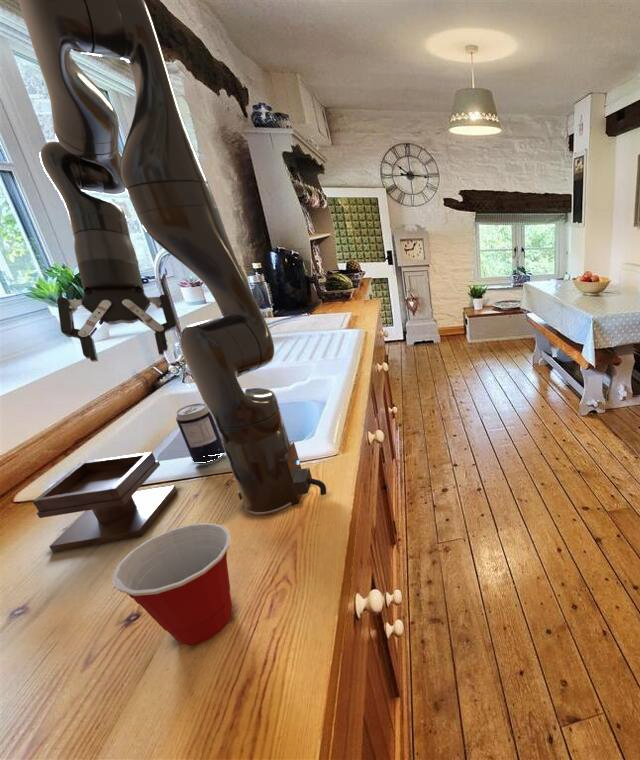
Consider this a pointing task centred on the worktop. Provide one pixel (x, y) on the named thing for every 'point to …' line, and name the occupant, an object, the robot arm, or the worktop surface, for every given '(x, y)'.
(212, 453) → the beverage can
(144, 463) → the cup stand
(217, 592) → the plastic cup
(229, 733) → the worktop surface
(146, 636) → the worktop surface
